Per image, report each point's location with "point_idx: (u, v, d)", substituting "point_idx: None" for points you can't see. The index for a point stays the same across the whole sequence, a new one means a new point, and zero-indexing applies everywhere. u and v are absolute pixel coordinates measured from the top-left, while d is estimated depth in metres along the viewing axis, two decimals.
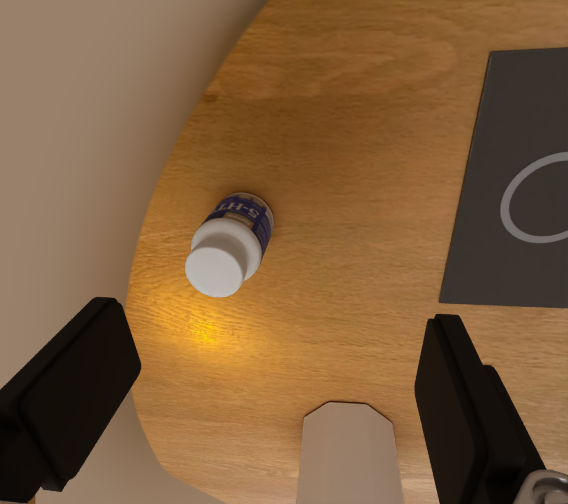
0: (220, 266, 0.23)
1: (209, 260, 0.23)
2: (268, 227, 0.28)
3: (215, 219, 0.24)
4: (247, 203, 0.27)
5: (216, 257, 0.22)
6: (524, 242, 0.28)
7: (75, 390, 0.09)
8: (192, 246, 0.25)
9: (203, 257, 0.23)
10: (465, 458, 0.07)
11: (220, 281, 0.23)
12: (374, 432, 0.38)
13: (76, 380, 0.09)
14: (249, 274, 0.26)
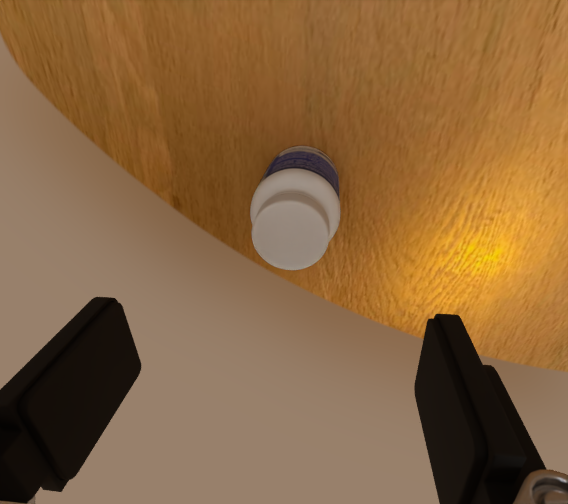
0: (277, 227, 0.17)
1: (269, 238, 0.18)
2: (291, 154, 0.22)
3: (251, 220, 0.21)
4: None
5: (264, 230, 0.18)
6: None
7: (75, 390, 0.09)
8: None
9: (266, 245, 0.18)
10: (465, 458, 0.07)
11: (301, 230, 0.17)
12: None
13: (76, 380, 0.09)
14: (319, 188, 0.19)
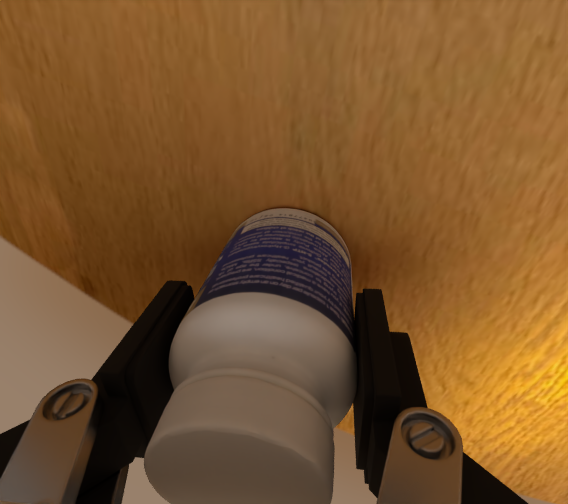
0: (204, 468, 0.07)
1: (188, 484, 0.07)
2: (261, 235, 0.11)
3: None
4: None
5: (173, 469, 0.07)
6: None
7: (162, 364, 0.09)
8: None
9: (182, 493, 0.08)
10: (362, 403, 0.08)
11: (263, 478, 0.07)
12: None
13: (163, 355, 0.09)
14: (310, 347, 0.08)
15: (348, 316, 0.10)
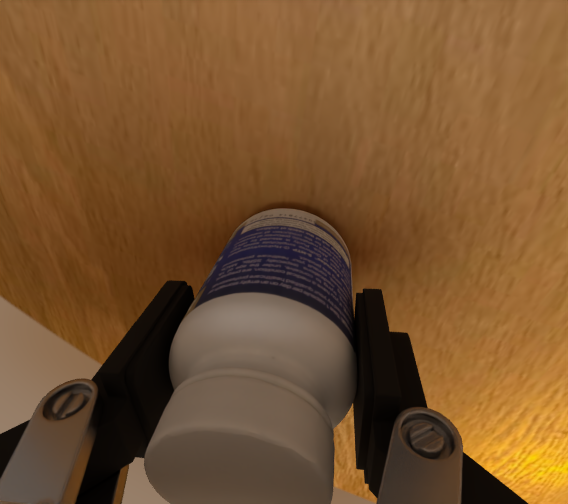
0: (204, 468, 0.07)
1: (188, 484, 0.07)
2: (261, 235, 0.11)
3: None
4: None
5: (173, 470, 0.07)
6: None
7: (162, 364, 0.09)
8: None
9: (182, 493, 0.08)
10: (362, 403, 0.08)
11: (263, 479, 0.07)
12: None
13: (163, 355, 0.09)
14: (310, 347, 0.08)
15: (348, 316, 0.10)
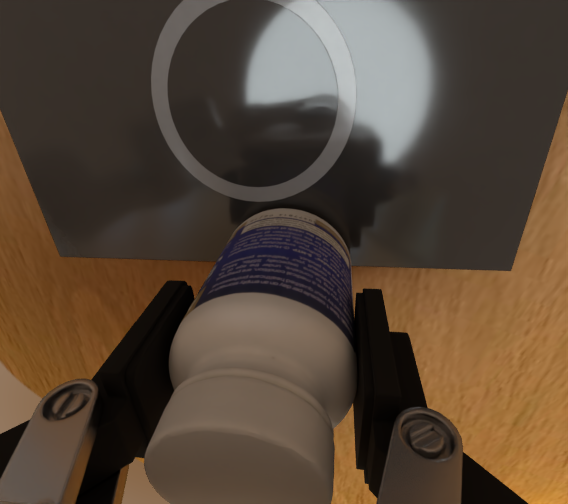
0: (204, 468, 0.07)
1: (189, 484, 0.07)
2: (261, 235, 0.11)
3: None
4: None
5: (173, 470, 0.07)
6: (354, 131, 0.12)
7: (162, 364, 0.09)
8: None
9: (182, 493, 0.08)
10: (362, 403, 0.08)
11: (264, 479, 0.07)
12: None
13: (163, 355, 0.09)
14: (310, 347, 0.08)
15: (348, 316, 0.10)
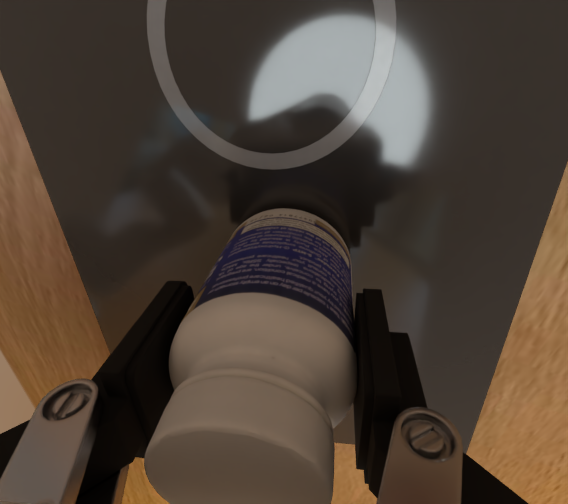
0: (204, 468, 0.07)
1: (188, 484, 0.07)
2: (262, 235, 0.11)
3: None
4: None
5: (173, 470, 0.07)
6: None
7: (162, 364, 0.09)
8: None
9: (182, 493, 0.08)
10: (362, 403, 0.08)
11: (263, 479, 0.07)
12: None
13: (163, 355, 0.09)
14: (310, 347, 0.08)
15: (348, 316, 0.10)
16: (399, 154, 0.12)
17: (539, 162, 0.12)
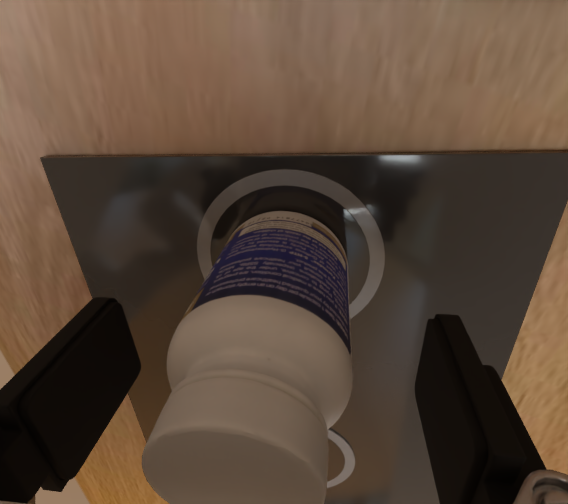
0: (200, 467, 0.07)
1: (185, 483, 0.07)
2: (259, 237, 0.12)
3: None
4: None
5: (170, 469, 0.07)
6: (354, 472, 0.22)
7: (75, 390, 0.09)
8: None
9: (179, 492, 0.08)
10: (465, 458, 0.07)
11: (258, 478, 0.07)
12: None
13: (76, 380, 0.09)
14: (305, 349, 0.08)
15: (343, 318, 0.10)
16: (388, 330, 0.16)
17: (494, 342, 0.16)
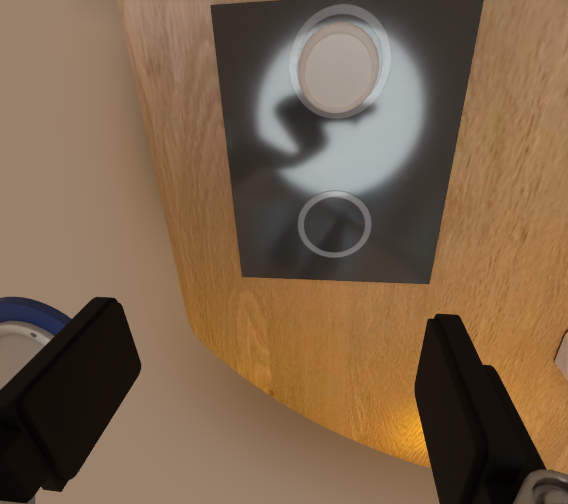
0: (327, 61, 0.20)
1: (320, 74, 0.20)
2: None
3: (298, 78, 0.23)
4: None
5: (316, 65, 0.20)
6: (370, 235, 0.35)
7: (75, 390, 0.09)
8: (325, 108, 0.23)
9: (316, 82, 0.21)
10: (465, 458, 0.07)
11: (348, 63, 0.20)
12: None
13: (76, 380, 0.09)
14: (362, 36, 0.21)
15: None
16: (392, 111, 0.29)
17: (450, 113, 0.29)
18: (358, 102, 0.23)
